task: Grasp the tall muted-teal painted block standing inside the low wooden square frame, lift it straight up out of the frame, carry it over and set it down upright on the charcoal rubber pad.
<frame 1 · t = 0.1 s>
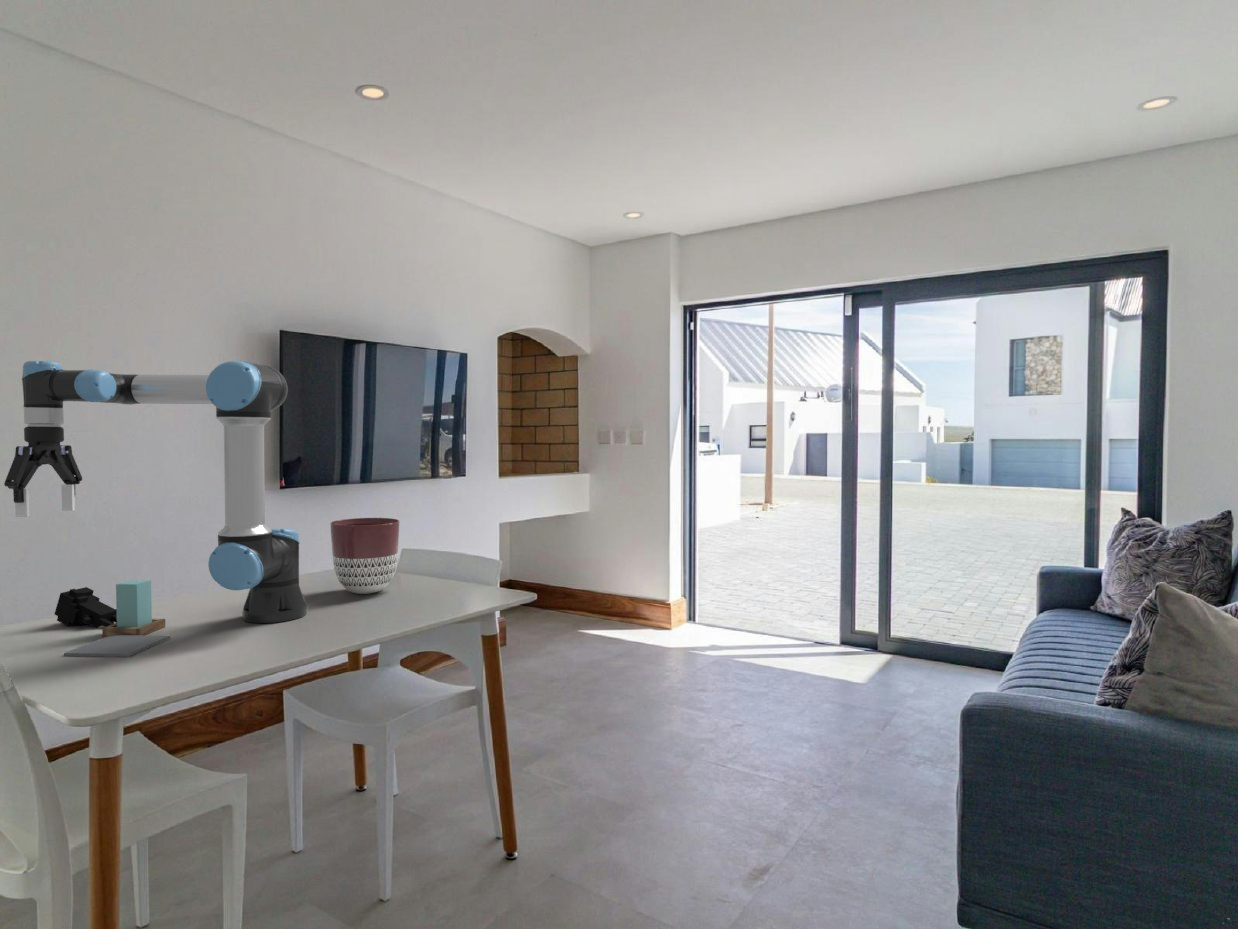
hand: (46, 513, 175), 28 cm above the table, fingers open, 13 cm apart
pad: (119, 646, 161), on the table
toy: (92, 625, 179), on the table
wooden square frame: (134, 631, 173), on the table
block: (134, 607, 173), in the wooden square frame
planter: (365, 593, 217), on the table
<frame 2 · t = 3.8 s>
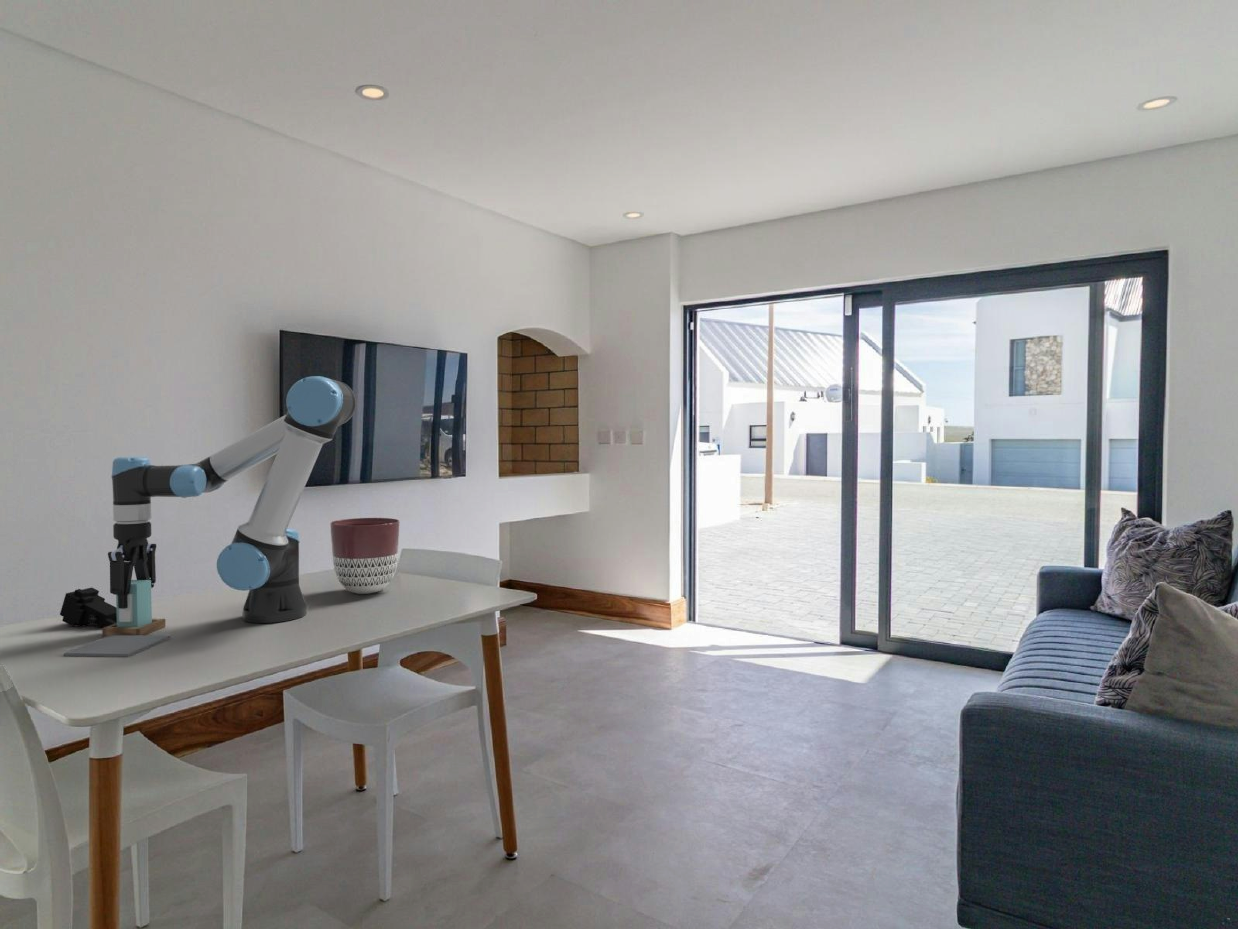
hand: (134, 618, 173), 3 cm above the table, fingers closed on block, 5 cm apart
toy: (98, 626, 179), on the table
block: (134, 606, 173), in the wooden square frame, touching gripper
everything else where it was.
when the fingers open (4 cm above the table, at t = 11.1 s): block stays where it is, resting on pad.
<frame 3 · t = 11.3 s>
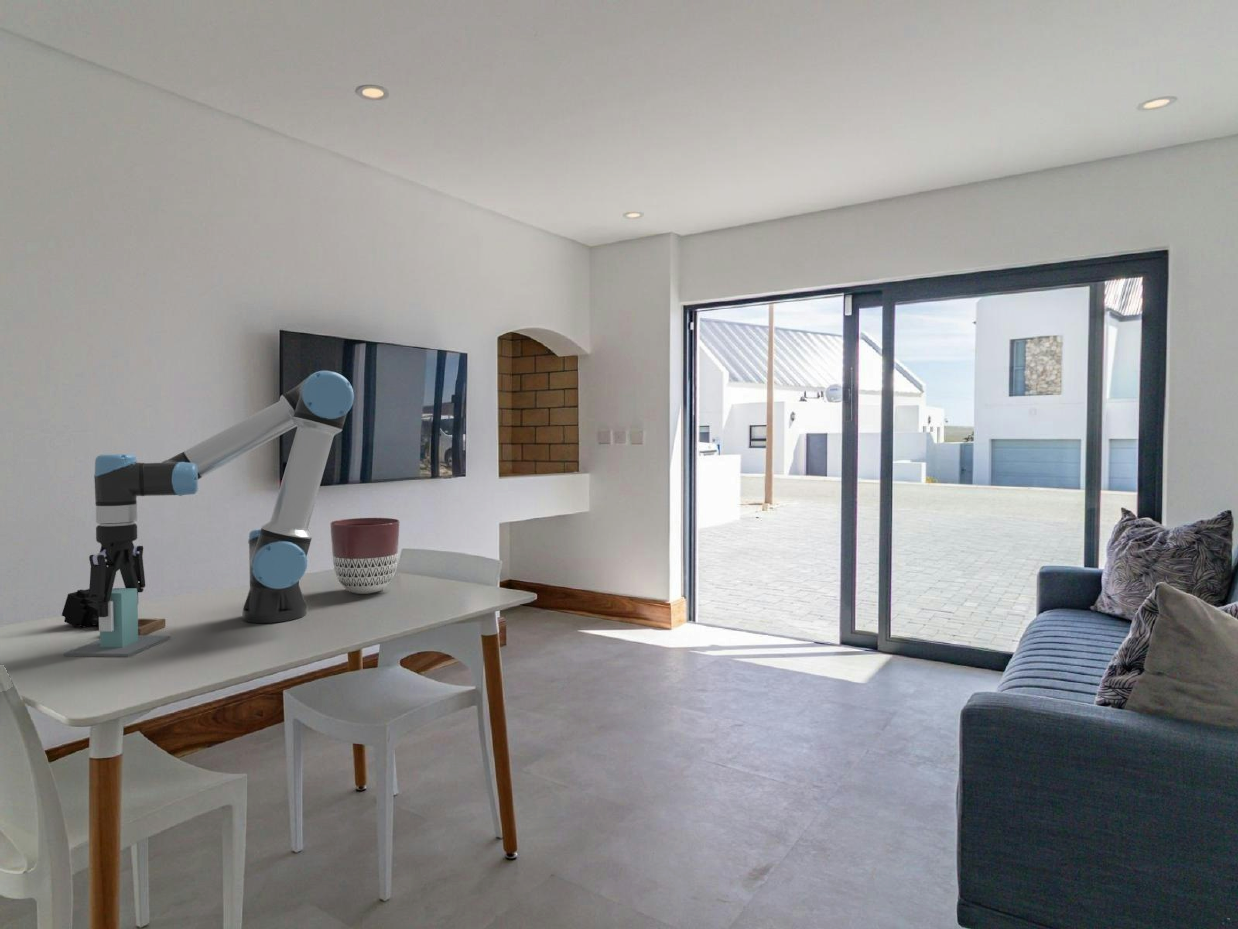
hand: (119, 626, 161), 5 cm above the table, fingers open, 7 cm apart
block: (118, 617, 161), on the pad, point 7 cm above the table
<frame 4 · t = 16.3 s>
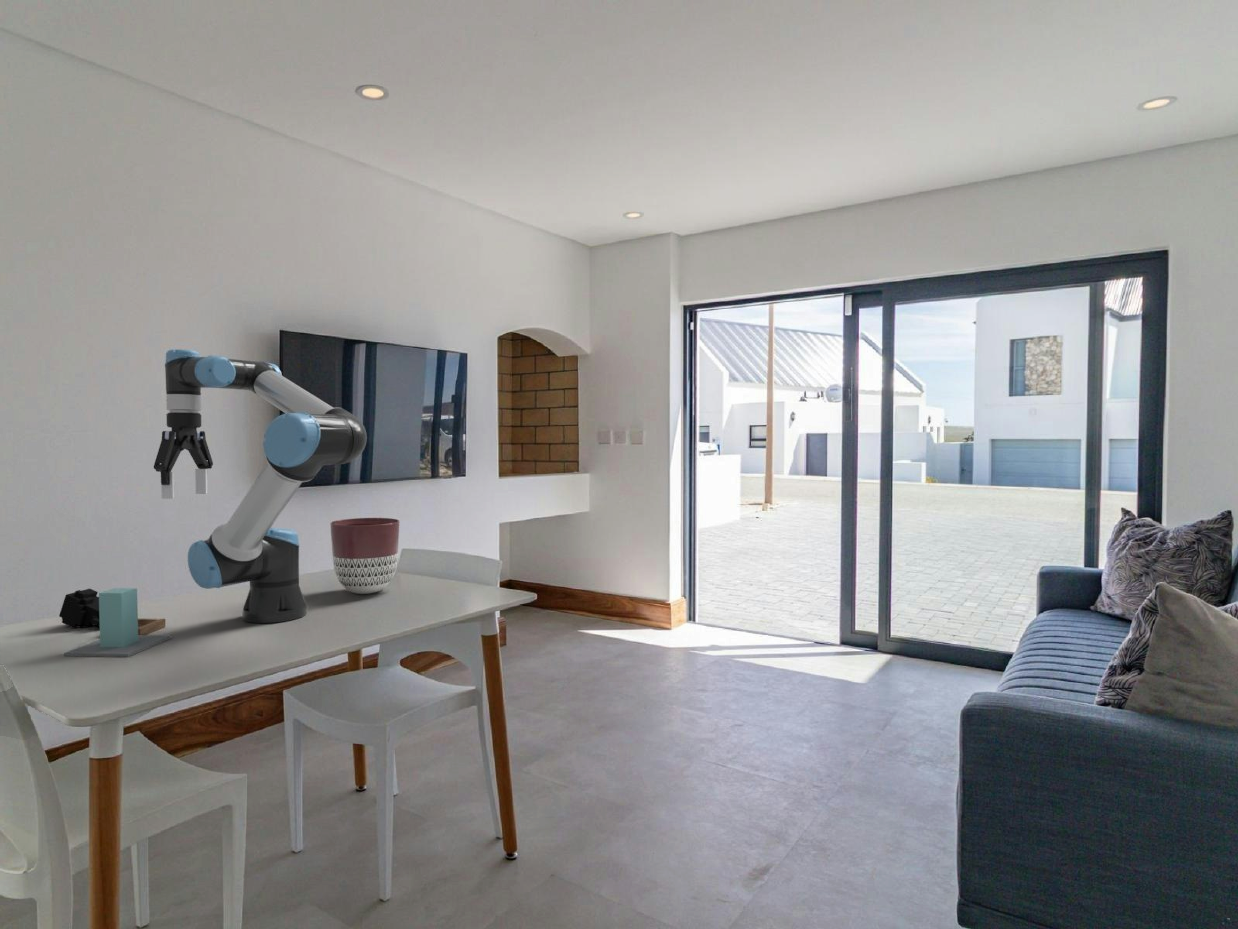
hand: (185, 496, 182), 32 cm above the table, fingers open, 13 cm apart
at the end: block inside the target area on the pad (0.0 cm from its centre), point 6.6 cm above the pad's base; block tilted 0°; the gripper is holding nothing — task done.
